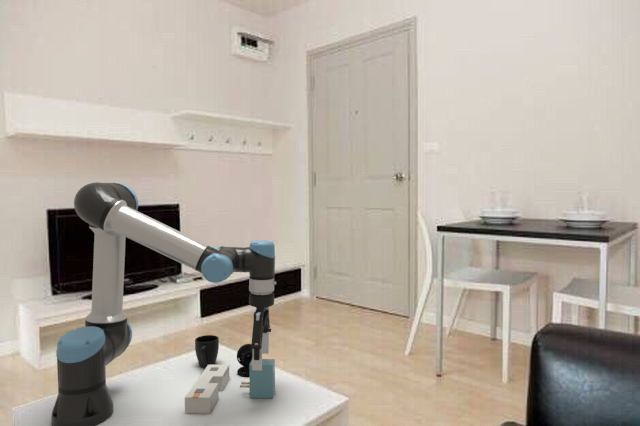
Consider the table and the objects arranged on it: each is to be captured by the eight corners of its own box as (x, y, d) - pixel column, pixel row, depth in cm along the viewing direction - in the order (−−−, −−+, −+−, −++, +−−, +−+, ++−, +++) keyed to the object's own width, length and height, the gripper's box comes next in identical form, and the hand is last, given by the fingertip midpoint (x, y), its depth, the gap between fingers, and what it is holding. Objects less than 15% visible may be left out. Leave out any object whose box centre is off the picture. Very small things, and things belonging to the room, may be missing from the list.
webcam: (238, 378, 150) (238, 348, 149) (235, 370, 157) (235, 341, 157) (261, 375, 152) (261, 346, 152) (257, 367, 159) (257, 339, 159)
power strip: (184, 413, 126) (184, 396, 126) (214, 368, 159) (214, 355, 158) (209, 413, 126) (209, 397, 126) (234, 368, 158) (234, 355, 158)
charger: (239, 397, 136) (238, 365, 135) (242, 390, 141) (242, 358, 140) (273, 398, 135) (273, 365, 135) (275, 390, 140) (275, 359, 140)
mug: (190, 373, 154) (189, 346, 154) (198, 360, 166) (198, 335, 166) (214, 373, 154) (213, 345, 154) (221, 360, 166) (220, 334, 166)
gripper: (268, 302, 124) (267, 378, 125) (279, 283, 149) (278, 347, 150) (241, 301, 124) (240, 377, 125) (256, 283, 149) (255, 346, 150)
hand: (260, 361), depth 137 cm, fingers open, 13 cm apart
